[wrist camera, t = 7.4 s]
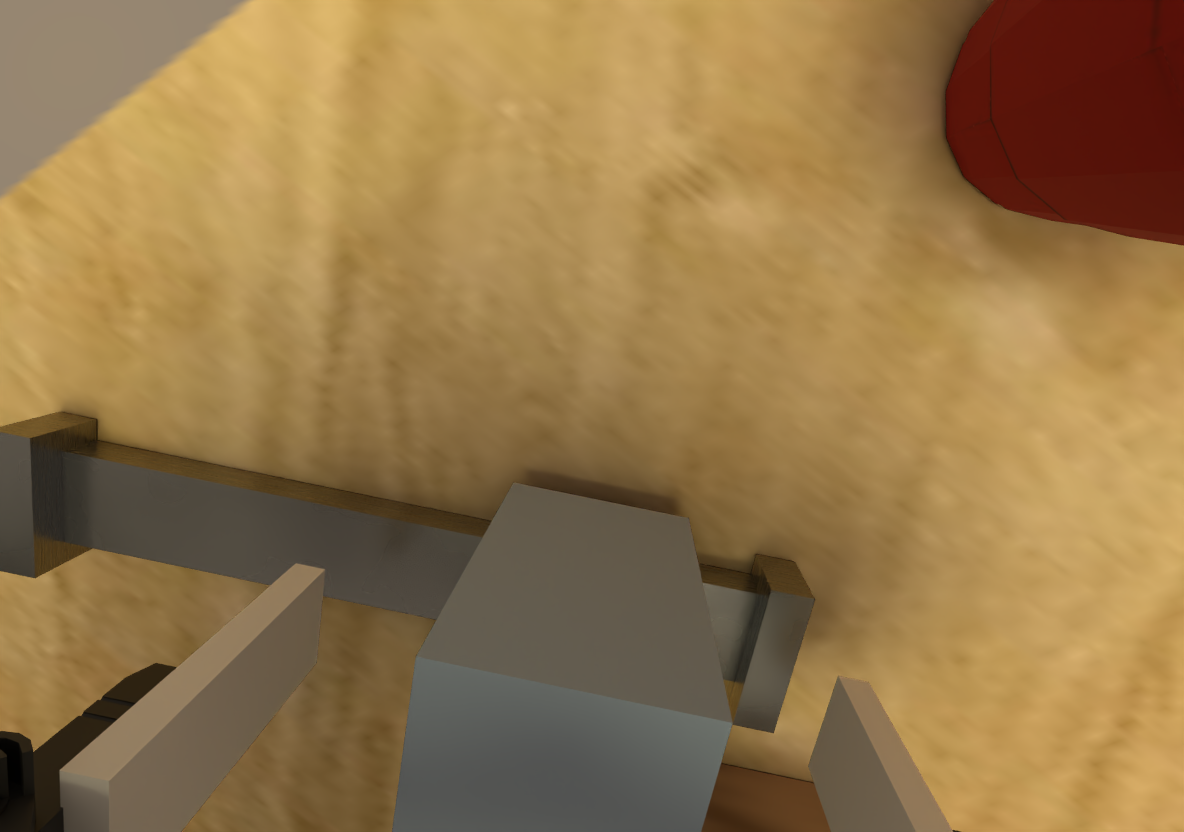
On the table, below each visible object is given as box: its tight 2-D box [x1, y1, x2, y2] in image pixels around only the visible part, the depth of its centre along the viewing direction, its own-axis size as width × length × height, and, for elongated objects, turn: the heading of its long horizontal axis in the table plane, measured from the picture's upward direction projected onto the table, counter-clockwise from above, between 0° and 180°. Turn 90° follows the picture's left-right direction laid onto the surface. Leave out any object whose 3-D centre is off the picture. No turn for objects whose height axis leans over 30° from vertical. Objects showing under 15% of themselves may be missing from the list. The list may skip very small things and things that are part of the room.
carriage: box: [392, 483, 733, 832], centre depth 15 cm, size 5×7×9 cm
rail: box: [0, 412, 815, 733], centre depth 19 cm, size 23×4×2 cm, turn 79°
